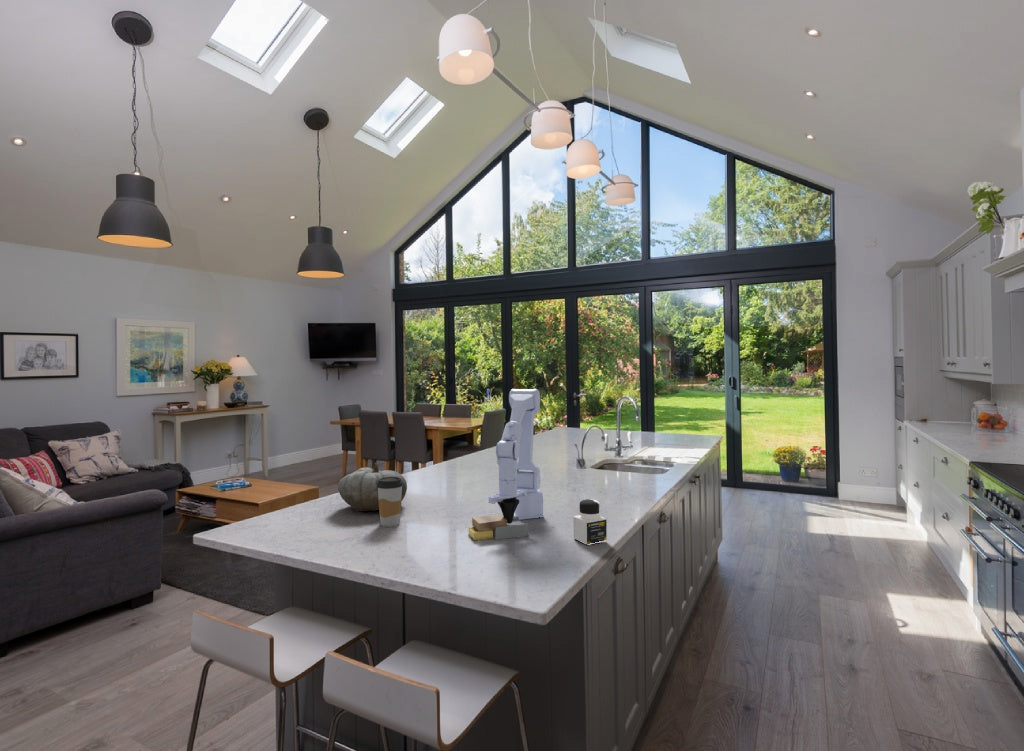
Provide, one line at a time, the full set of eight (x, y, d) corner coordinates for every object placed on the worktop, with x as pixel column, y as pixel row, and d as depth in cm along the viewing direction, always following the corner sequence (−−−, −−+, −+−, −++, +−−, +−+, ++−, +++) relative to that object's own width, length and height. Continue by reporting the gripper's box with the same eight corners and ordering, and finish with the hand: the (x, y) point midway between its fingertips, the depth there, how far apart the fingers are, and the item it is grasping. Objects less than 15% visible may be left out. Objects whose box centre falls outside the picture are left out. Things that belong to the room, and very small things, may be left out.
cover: (499, 522, 174) (499, 514, 174) (507, 528, 168) (507, 519, 168) (472, 525, 171) (472, 517, 171) (479, 531, 165) (478, 523, 165)
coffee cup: (408, 522, 185) (407, 477, 184) (392, 529, 177) (392, 482, 177) (388, 519, 188) (387, 475, 188) (372, 526, 181) (371, 480, 180)
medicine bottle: (587, 546, 158) (586, 504, 158) (573, 539, 165) (572, 499, 164) (607, 542, 162) (606, 501, 161) (592, 535, 168) (592, 496, 168)
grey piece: (518, 527, 177) (518, 516, 177) (528, 535, 169) (528, 523, 169) (487, 531, 174) (487, 519, 174) (496, 539, 165) (496, 527, 165)
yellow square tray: (487, 532, 172) (487, 525, 172) (493, 538, 166) (493, 530, 166) (468, 534, 170) (468, 527, 170) (474, 540, 164) (473, 532, 164)
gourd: (339, 513, 186) (343, 461, 189) (332, 508, 209) (336, 462, 212) (412, 513, 196) (415, 463, 199) (398, 508, 218) (401, 464, 221)
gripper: (515, 474, 179) (516, 515, 179) (481, 480, 169) (482, 524, 169) (531, 477, 174) (531, 519, 174) (497, 484, 164) (497, 529, 164)
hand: (508, 522), depth 171 cm, fingers closed
